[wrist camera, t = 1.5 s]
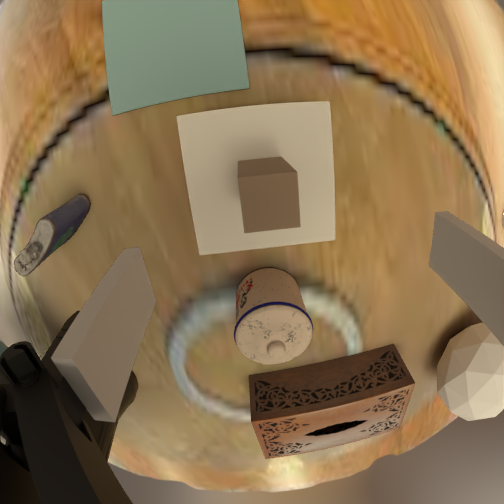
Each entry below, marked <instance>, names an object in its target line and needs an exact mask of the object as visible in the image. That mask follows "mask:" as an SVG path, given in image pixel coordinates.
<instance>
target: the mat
mask: <svg viewBox="0 0 504 504" xmlns="http://www.w3.org/2000/svg"><path fill="white" fill-rule="evenodd" d="M102 13H103V33H104V47H105V59H106V69H107V78H108V87H109V94H110V102H111V109H112V115H117V114H120V113H124V112H128V111H131V110H135V109H139V108H143V107H147V106H151V105H156V104H160V103H164V102H169V101H174V100H179V99H184V98H189V97H195V96H200V95H206V94H213V93H219V92H226V91H234V90H242V89H249V80H248V72H247V65H246V57H245V50H244V43H243V35H242V28H241V21H240V14H239V7H238V0H105V1H102Z"/></svg>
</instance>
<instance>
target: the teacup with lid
mask: <svg viewBox="0 0 504 504" xmlns="http://www.w3.org/2000/svg"><path fill="white" fill-rule="evenodd" d="M312 334H313V324H312V321H311V319H310V317H309V315H308V314H307V312H306V309H305V306H304V303H303V300H302V297H301V293H300V290H299V287H298V285H297V283H296V281H295V280H294V278H293V277H292V276H291V275H289V274H288V273H286V272H284V271H282V270H279V269H274V268H265V269H260V270H257V271H254V272H252V273H250V274H249V275H248V276H246V277H245V278H244V279H243V280H242V281H241V283H240V285H239V286H238V289H237V293H236V326H235V330H234V339H235V342H236V345H237V347H238V348H239V350H240V351H241V352H242V353H243V354H244V355H245V356H246V357H247V358H249V359H251V360H253V361H255V362H258V363H262V364H264V365H268V364H279V363H284V362H287V361H289V360H292V359H294V358H295V357H297V356H299V355H300V354H301V353H302V352H303V351H304V350H305V349H306V348H307V346H308V345H309V343H310V341H311V338H312Z"/></svg>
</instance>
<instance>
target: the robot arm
mask: <svg viewBox="0 0 504 504" xmlns="http://www.w3.org/2000/svg"><path fill="white" fill-rule="evenodd" d="M429 266H430V267H431V268H432V269H433V270H434V271H435V272H436V273H437V274H438V275H439V276H440V277H441V278H442V279H443V280H444V281H445V282H446V283H447V284H448V285H449V286H450V287H451V288H452V289H453V290H454V291H455V293H456V294H457V295H458V296H459V297H460V298H461V299H462V300H463V301H464V302H465V303H466V304H467V305H468V306H469V307H470V308H471V310H472V311H473V312H474V313H475V314H476V315H477V316H478V317H479V318H480V320H481V321H482V322H483V323H484V324H485V325H486V326H487V327H488V329H489V330H490V331H491V332H492V333H493V334H494V336H495V337H496V338H497V339H498V340H499V342H500V343H501V344H502V345H503V346H504V248H503V247H501V246H500V245H499V244H497V243H496V242H494V241H493V240H491V239H490V238H488V237H487V236H486V235H484V234H483V233H481V232H480V231H478V230H477V229H475V228H473V227H472V226H470V225H469V224H467V223H466V222H464V221H463V220H461V219H459V218H458V217H456V216H454V215H453V214H451V213H450V212H448V211H444V212H435V221H434V230H433V238H432V246H431V253H430V259H429ZM155 304H156V299H155V296H154V293H153V289H152V286H151V283H150V280H149V277H148V273H147V270H146V267H145V263H144V260H143V256H142V253H141V249H140V247H136V248H129V249H124V250H123V251H122V252H121V254H120V255H119V256H118V258H117V259H116V260H115V262H114V263H113V265H112V266H111V267H110V269H109V270H108V271H107V273H106V274H105V276H104V277H103V278H102V280H101V281H100V283H99V284H98V285H97V287H96V288H95V290H94V291H93V293H92V294H91V296H90V297H89V299H88V300H87V301H86V303H85V304H84V306H83V307H82V309H81V310H80V311H77V312H76V313H74V314H73V315H72V316H71V317H70V318H69V319H68V320H67V321H66V323H65V324H64V326H63V327H62V329H61V331H60V332H59V333H58V335H57V336H56V339H55V340H54V341H53V343H52V344H51V346H50V347H49V349H48V351H47V352H46V354H45V356H44V357H43V359H42V361H41V360H40V358H39V356H38V355H37V353H36V351H35V350H34V348H33V346H32V345H31V343H29V342H26V341H24V342H18V343H15V344H13V345H11V346H10V347H7V346H6V345H5V344H4V343H3V342H2V341H0V504H133V503H132V502H131V500H130V499H129V497H128V496H127V494H126V493H125V491H124V490H123V488H122V487H121V485H120V483H119V482H118V480H117V478H116V477H115V475H114V473H113V472H112V470H111V468H110V466H109V465H108V463H107V462H108V458H109V454H110V450H111V446H112V442H113V438H114V434H115V431H116V427H117V424H118V420H119V418H120V417H121V416H122V414H123V413H124V412H125V410H126V409H127V408H128V406H129V405H130V404H131V403H132V402H133V401H134V399H135V396H136V392H137V389H138V383H137V379H136V377H135V375H134V373H133V372H132V368H133V365H134V362H135V359H136V356H137V353H138V350H139V347H140V345H141V342H142V339H143V336H144V333H145V331H146V328H147V325H148V323H149V320H150V317H151V314H152V312H153V309H154V307H155Z"/></svg>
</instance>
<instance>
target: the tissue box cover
mask: <svg viewBox="0 0 504 504" xmlns="http://www.w3.org/2000/svg"><path fill="white" fill-rule="evenodd" d="M414 385H415V382H414V380H413V378H412V376H411V374H410V373H409V371H408V369H407V367H406V365H405V363H404V362H403V360H402V358H401V356H400V354H399V353H398V351H397V349H396V347H395V346H394V344H391V345H388V346H384V347H381V348H377V349H374V350H370V351H366V352H362V353H358V354H354V355H350V356H346V357H342V358H338V359H333V360H329V361H324V362H320V363H315V364H310V365H305V366H300V367H295V368H289V369H284V370H278V371H272V372H266V373H260V374H253V375H249V388H250V408H251V422H252V425H253V428H254V430H255V433H256V436H257V438H258V441H259V443H260V446H261V449H262V451H263V454H264V456H265V459H268V458H276V457H283V456H289V455H295V454H301V453H307V452H312V451H317V450H322V449H326V448H331V447H335V446H339V445H343V444H347V443H351V442H355V441H359V440H362V439H366V438H369V437H373V436H376V435H379V434H382V433H385V432H389V431H392V430H395V429H397V428H400V426H401V423H402V420H403V418H404V415H405V412H406V409H407V407H408V404H409V401H410V398H411V395H412V392H413V388H414Z"/></svg>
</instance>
